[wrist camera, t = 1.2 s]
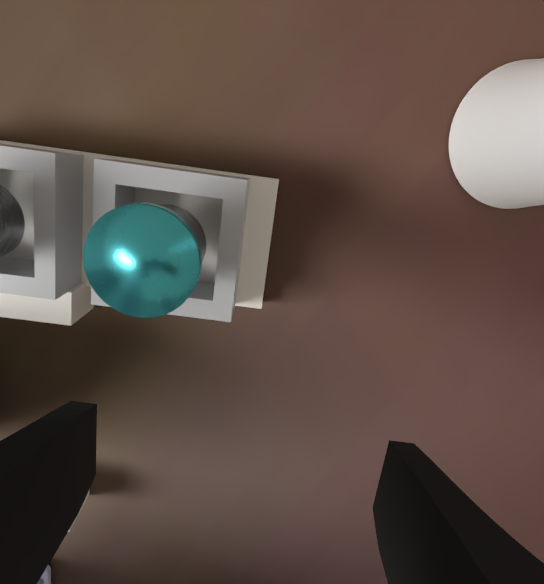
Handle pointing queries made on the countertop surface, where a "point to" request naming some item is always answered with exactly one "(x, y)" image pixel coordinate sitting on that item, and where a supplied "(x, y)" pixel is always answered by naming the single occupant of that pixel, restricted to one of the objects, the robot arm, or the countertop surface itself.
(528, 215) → the countertop surface
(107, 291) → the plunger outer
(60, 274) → the white knob panel
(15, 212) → the plunger inner
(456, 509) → the robot arm
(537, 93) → the cosmetic bottle
